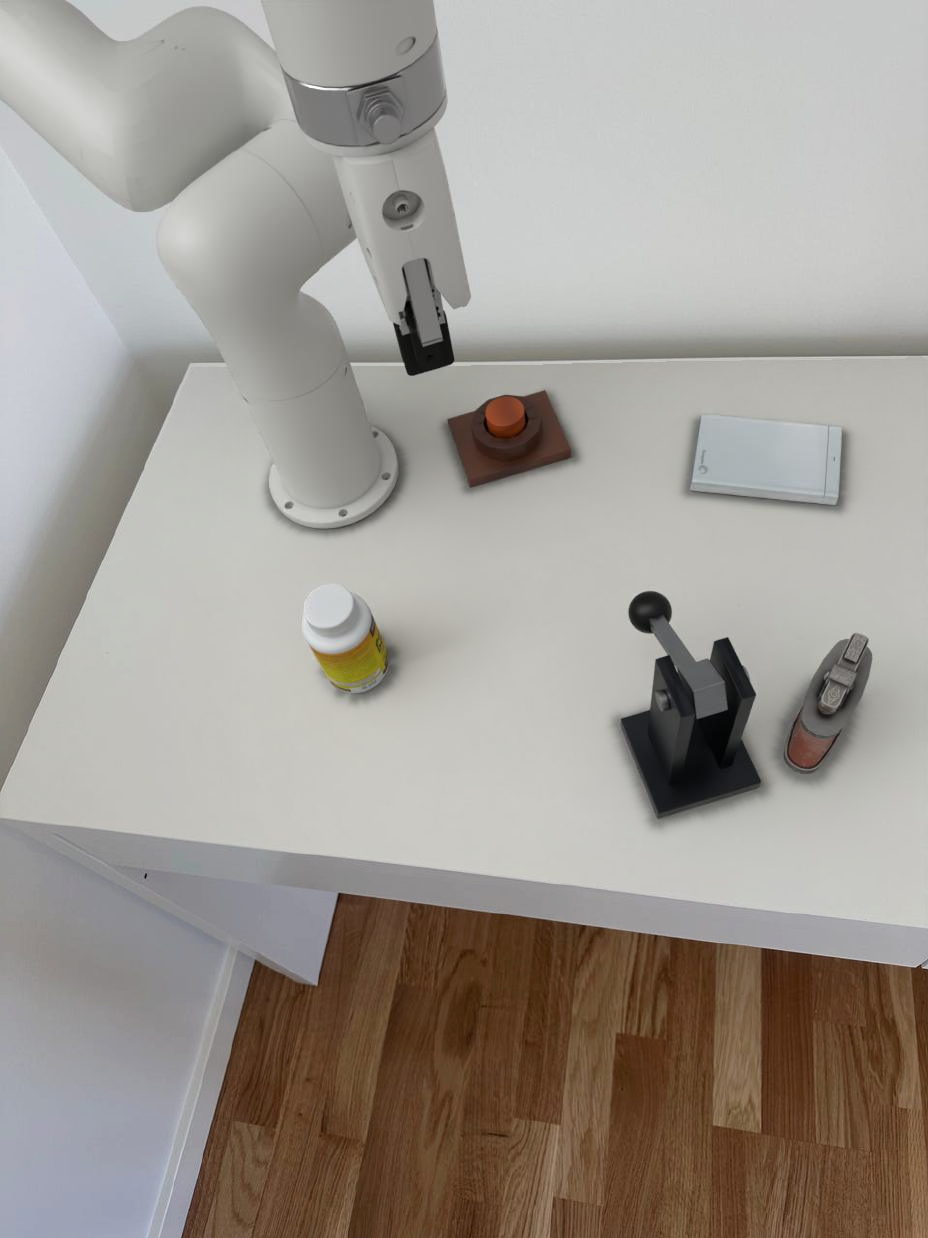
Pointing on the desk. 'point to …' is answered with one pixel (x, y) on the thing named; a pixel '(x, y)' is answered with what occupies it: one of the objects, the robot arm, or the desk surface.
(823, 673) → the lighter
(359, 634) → the supplement bottle
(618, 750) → the desk surface
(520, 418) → the button
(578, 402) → the desk surface
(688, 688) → the lever
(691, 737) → the bracket
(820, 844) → the desk surface
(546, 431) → the button block
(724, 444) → the hard drive
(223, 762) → the desk surface
